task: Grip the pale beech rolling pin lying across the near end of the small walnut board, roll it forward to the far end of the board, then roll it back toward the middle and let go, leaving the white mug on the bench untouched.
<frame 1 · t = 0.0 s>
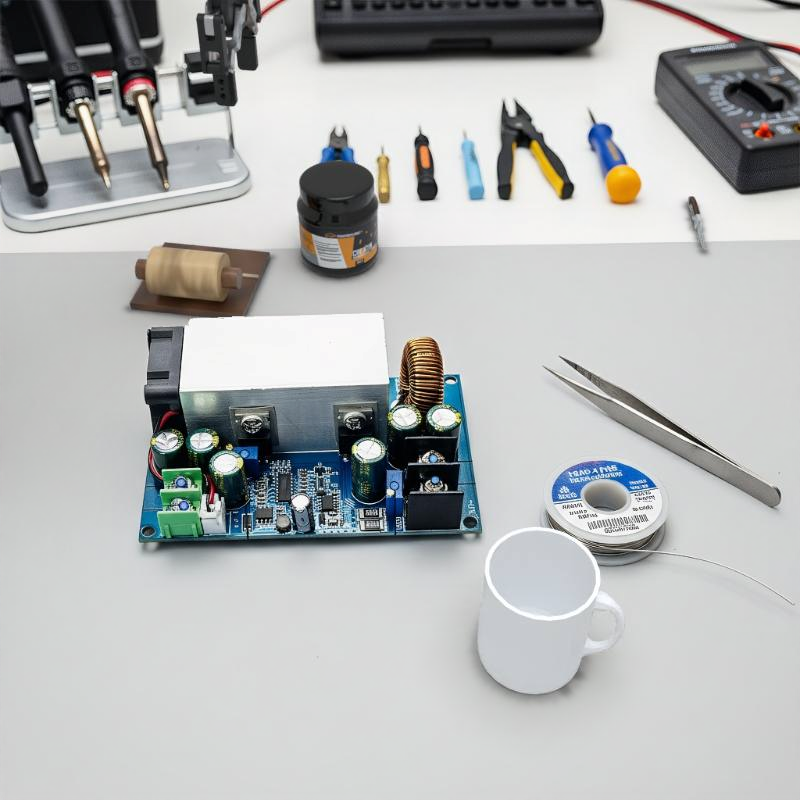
hand: (238, 86, 108), 28 cm above the table, tool pointing down, fingers open, 8 cm apart
mug: (542, 651, 89), on the table
pastry board: (202, 282, 129), on the table
supplement container: (339, 258, 134), on the table
pocket knife: (695, 229, 139), on the table
rolling pin: (188, 273, 123), point 4 cm above the table, slide at 0.0 cm
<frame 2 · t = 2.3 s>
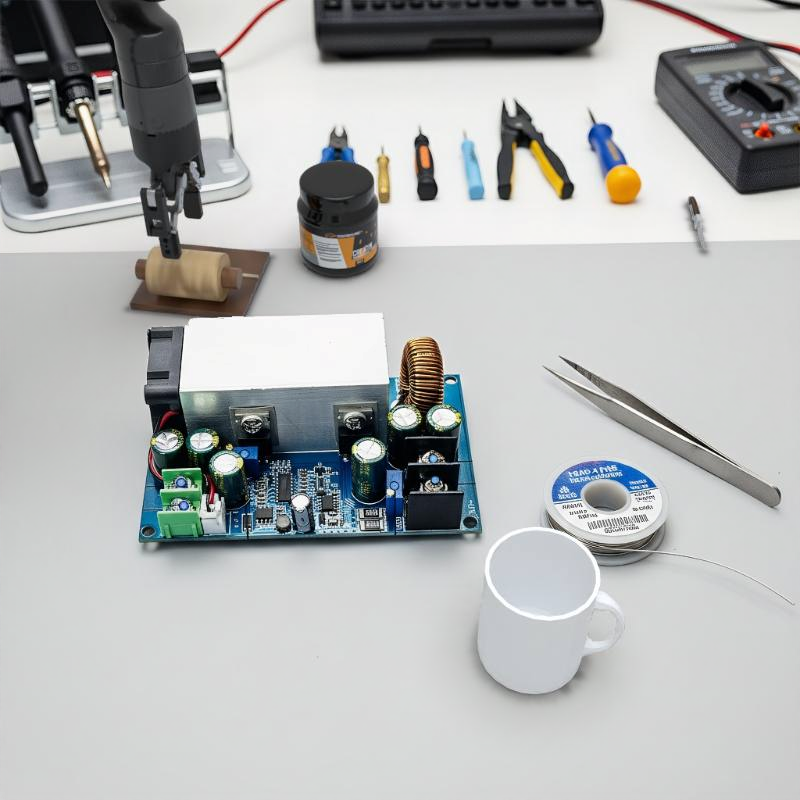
hand: (183, 236, 120), 10 cm above the table, tool pointing down, fingers open, 8 cm apart
nothing on the table moved.
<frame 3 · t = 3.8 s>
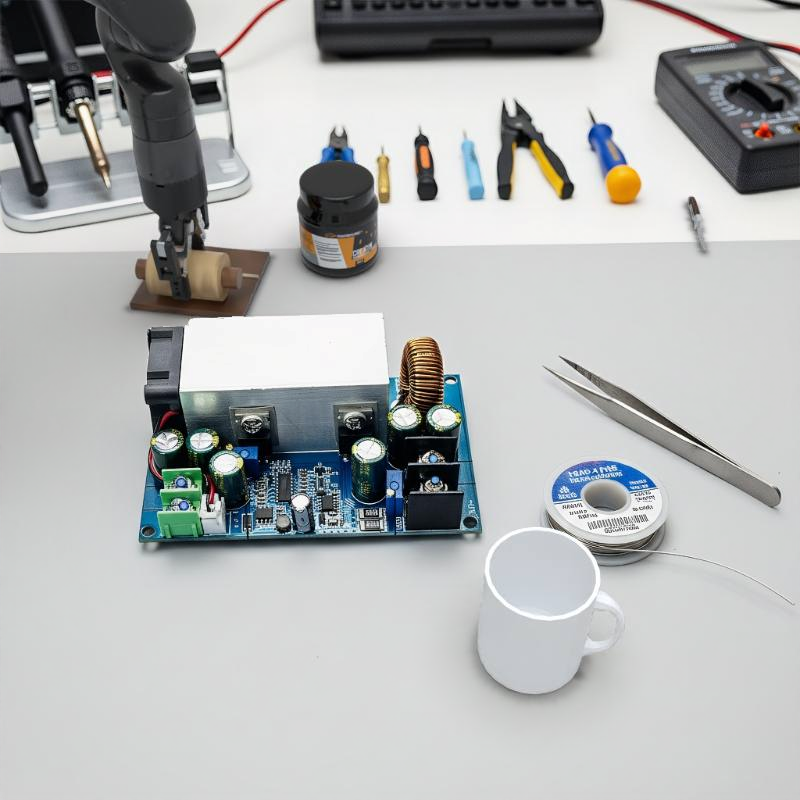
hand: (190, 282, 124), 3 cm above the table, tool pointing down, fingers closed on rolling pin, 6 cm apart
rolling pin: (189, 273, 123), point 4 cm above the table, slide at 0.0 cm, touching gripper
everything else where it was.
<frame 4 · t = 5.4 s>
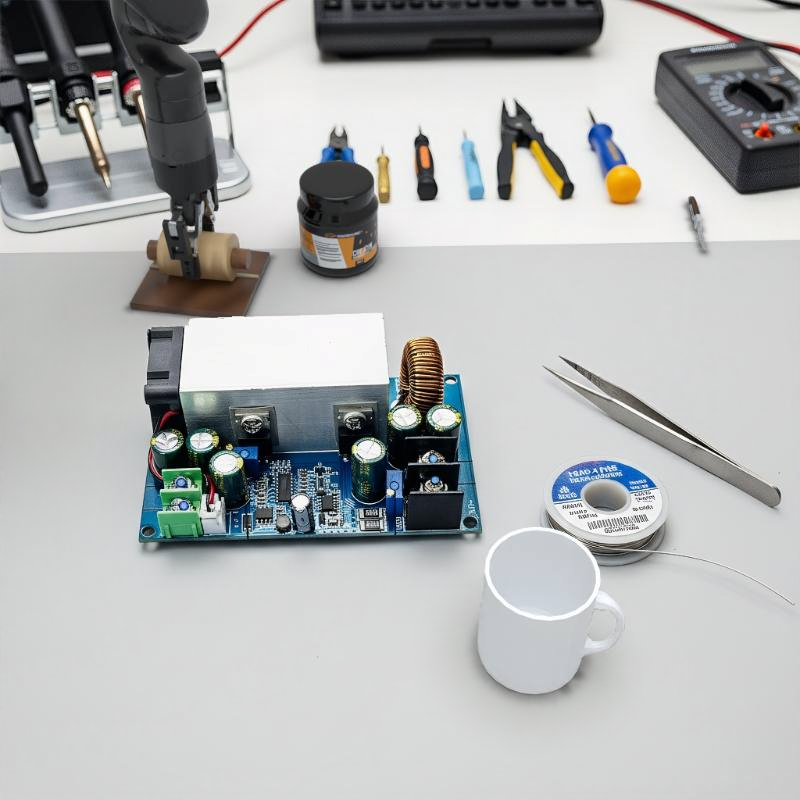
hand: (200, 262, 127), 3 cm above the table, tool pointing down, fingers closed on rolling pin, 6 cm apart
rolling pin: (199, 254, 126), point 4 cm above the table, slide at 4.2 cm, touching gripper
everything else where it was.
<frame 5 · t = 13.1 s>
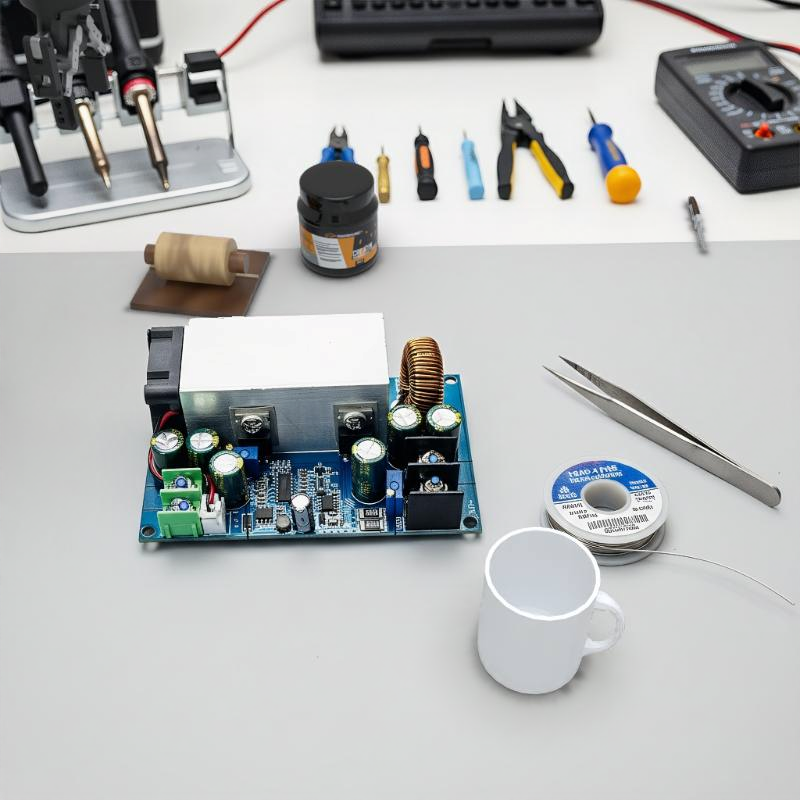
hand: (84, 109, 104), 28 cm above the table, tool pointing down, fingers open, 8 cm apart
rolling pin: (196, 258, 126), point 4 cm above the table, slide at 3.3 cm
everything else where it was.
at the end: rolling pin pulled out 8.5 cm at the most during the clip, back to 3.3 cm at the end; rolling pin slide at 3.3 cm; mug moved 0.2 cm from its start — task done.
